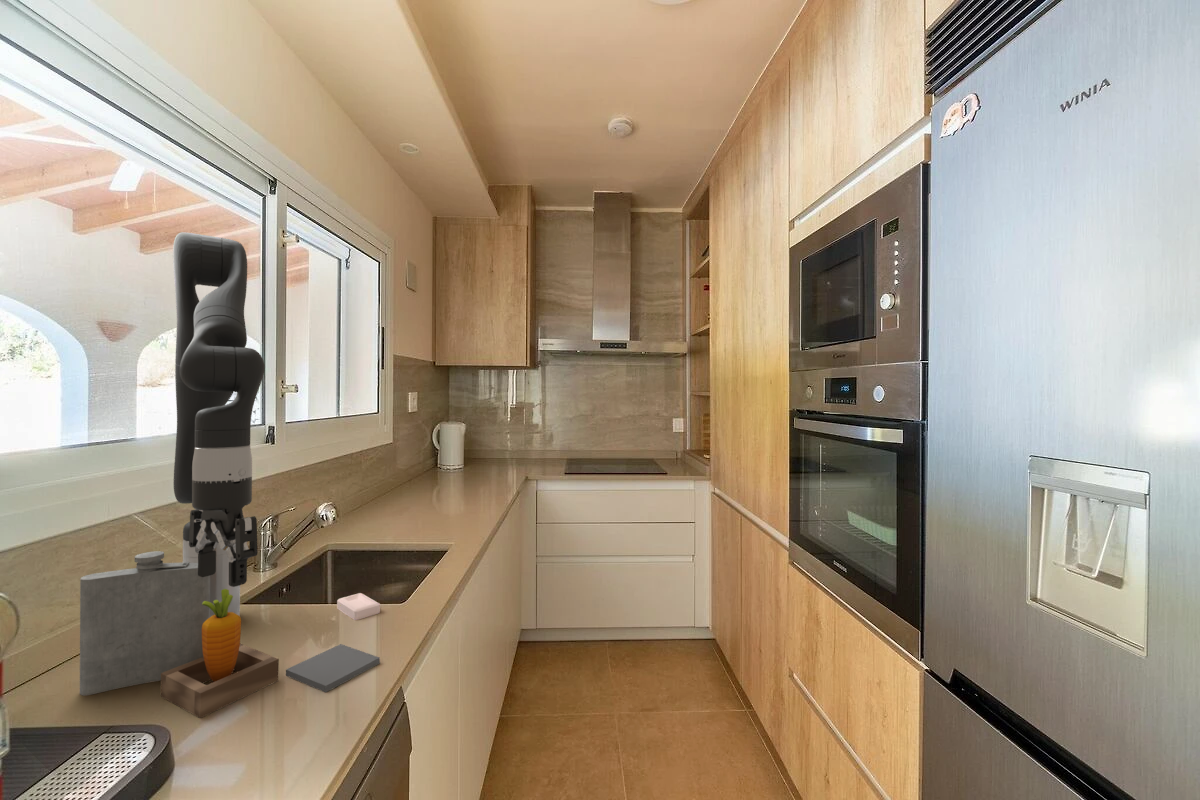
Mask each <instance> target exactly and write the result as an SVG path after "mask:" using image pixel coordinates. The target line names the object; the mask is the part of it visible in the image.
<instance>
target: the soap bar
mask: <svg viewBox="0 0 1200 800" xmlns="http://www.w3.org/2000/svg"><path fill="white" fill-rule="evenodd" d="M340 605H341V606H340ZM336 608H337V610H338V611H340V612H342V613H343V614H344V615H346V616H347V617H349V618H350V619H353V620H354V621H358V620H362V619H364V618H369V617H371V616H375V615H377V614H380V613H381V603H380V602H377V601H376V600H374V599H372V598H370V597H369V596H367V595H365V594H364V593H361V592H358V593H356V594H351V595H348V596H344V597H340V598H338V599H337V600H336Z"/></svg>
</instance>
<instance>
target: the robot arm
mask: <svg viewBox="0 0 1200 800" xmlns="http://www.w3.org/2000/svg"><path fill="white" fill-rule="evenodd" d="M172 247H173V248H172V259H173V260H172V261H173V262H172V264H173V279H174V293H175V294H174V295H175V310H176V334H175V335H176V339H175V340H176V342H175V365H174V367H175V369H174V371H175V372H174V375H175V381H174V382H175V397H176V398H175V401H176V402H175V403H176V436H175V437H176V439H175V452H174V464H173V465H174V466H173V494H174V496H175V499H176V501H177V502H178V503H180V504H186V505H187V504H191V507H192V508H193V509H191V510H190V512H189V521H188V522H186V523H185V524H184V526H183V529H182V562H190V563H198V576H200V577H206V576H210V602H211V603H212V604H213V605H214V602H213V601H214V600H218V601H219V602H222V594H221V590H223V589H228V590H229V595H232V596H233V598H232V601H231V603H230V605H229V607H228V612H233V613H235V614H237V615H238V616H240V615H241V614H240V613H241V586H243V585H245V584H246V583H247V581H248V576H247V575H248V572H247V571H248V559H250V558H252V557H256V556H257V555H258V554H259V553H258V525H257V524H258V523H257V522H258V521H257V516H254V515H253V516H247V517H244V513H243V509H244V508H245V506H248V505H250V504H251V503H252V502H253V456H252V451H251V450H252V449H251V428H252V425H251V424H252V423H251V422H252V421H251V420H252V414H253V410H254V404H255V401H256V398H257V396H258V392H259V389H260V387H261V385H262V381H263V378H264V375H265V371H266V370H265V369H266V366H265V361H264V358H263V357H262V355H261V354H260V353H259V351H257V350H256V349H254V348H251V347H246V345H247V341H248V336H247V328H246V319H245V303H246V297H247V288H248V285H247V284H248V258H247V252H246V250H245V246H243V244H242V243H241V242H239V241H236V240H235V239H231V238H226V237H224V238H223V237H218V236H212V235H206V234H200V233H194V232H193V233H192V232H187V231H186V232H185V231H183V232H179V233H177V234H176V236H175V237H174V241H173V246H172ZM197 285H198V286H208V287H216V288H215V289H213V290H212V291H211V292H209V293H208V294H206V295H205V296H203V297H202V299H201V300H200V298H199V297H198V294H197V290H196V286H197ZM233 393H236V396H235V397H234V399H233V400H232V401H231V402H230V403H228V402H229V400H230V399H231V397H232V396H233ZM247 543H249V546H248V544H247ZM214 606H215V605H214ZM213 615H215V614H214V612H213V611H212V610H211V609H210V608H209V618H210V617H211V616H213ZM240 617H241V616H240Z"/></svg>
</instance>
